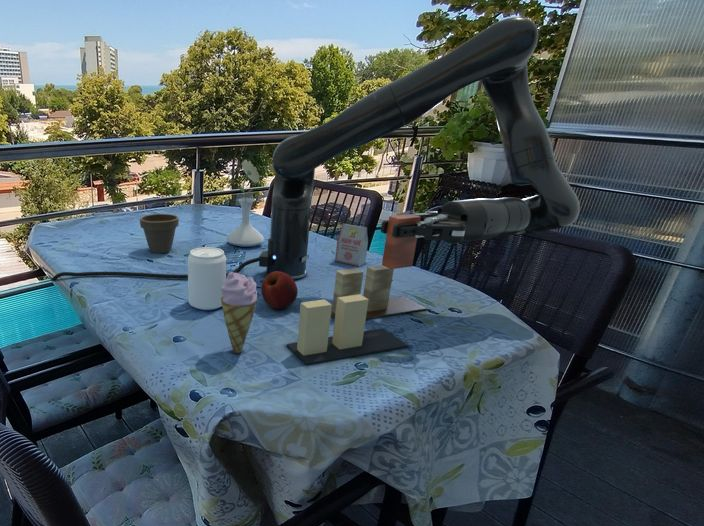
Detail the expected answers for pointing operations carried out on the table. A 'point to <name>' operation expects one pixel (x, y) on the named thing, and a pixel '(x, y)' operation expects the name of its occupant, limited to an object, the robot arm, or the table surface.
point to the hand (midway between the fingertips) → (388, 229)
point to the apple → (279, 290)
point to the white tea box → (352, 245)
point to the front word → (339, 332)
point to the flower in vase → (246, 215)
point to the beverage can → (206, 277)
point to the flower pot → (159, 231)
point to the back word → (373, 292)
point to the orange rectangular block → (399, 244)
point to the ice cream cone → (238, 307)
